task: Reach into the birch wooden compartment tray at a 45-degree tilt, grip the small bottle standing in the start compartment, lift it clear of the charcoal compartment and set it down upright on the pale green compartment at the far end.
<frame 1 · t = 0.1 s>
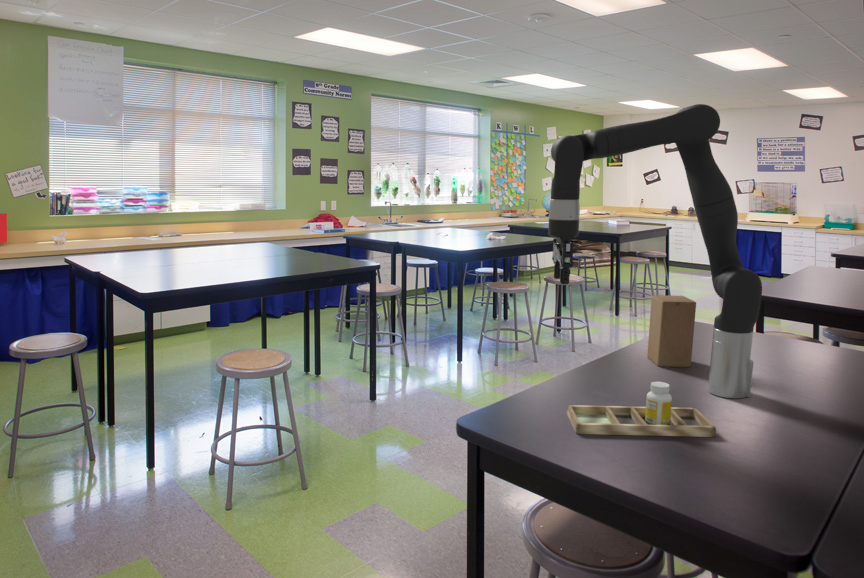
hand: (561, 281, 158), 29 cm above the table, tool pointing down, fingers open, 8 cm apart
wooden block: (668, 363, 188), on the table
wooden compartment tray: (637, 424, 140), on the table
supplement bottle: (657, 426, 140), resting in wooden compartment tray
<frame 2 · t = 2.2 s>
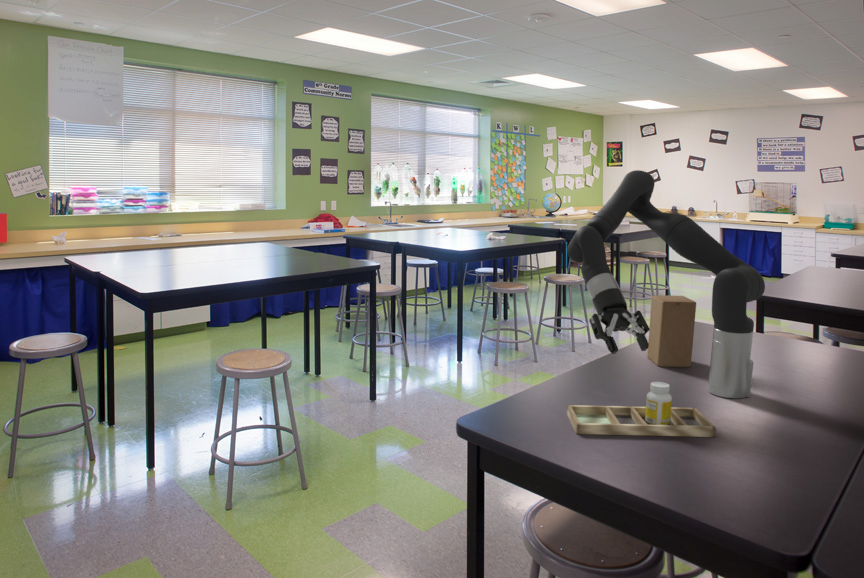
hand: (630, 351, 148), 14 cm above the table, tool tilted 45°, fingers open, 8 cm apart
nothing on the table moved.
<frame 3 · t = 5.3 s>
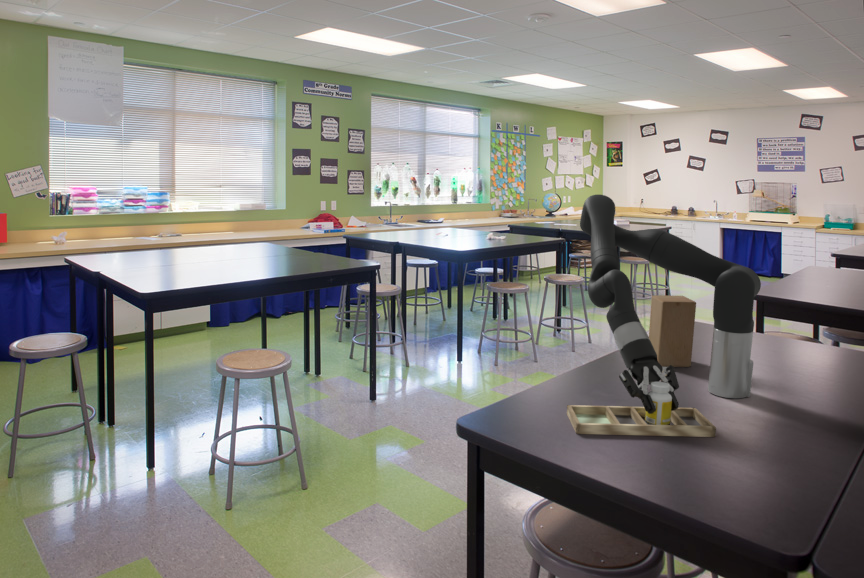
hand: (663, 410, 137), 4 cm above the table, tool tilted 45°, fingers closed on supplement bottle, 5 cm apart
supplement bottle: (657, 426, 140), resting in wooden compartment tray, touching gripper
everything else where it was.
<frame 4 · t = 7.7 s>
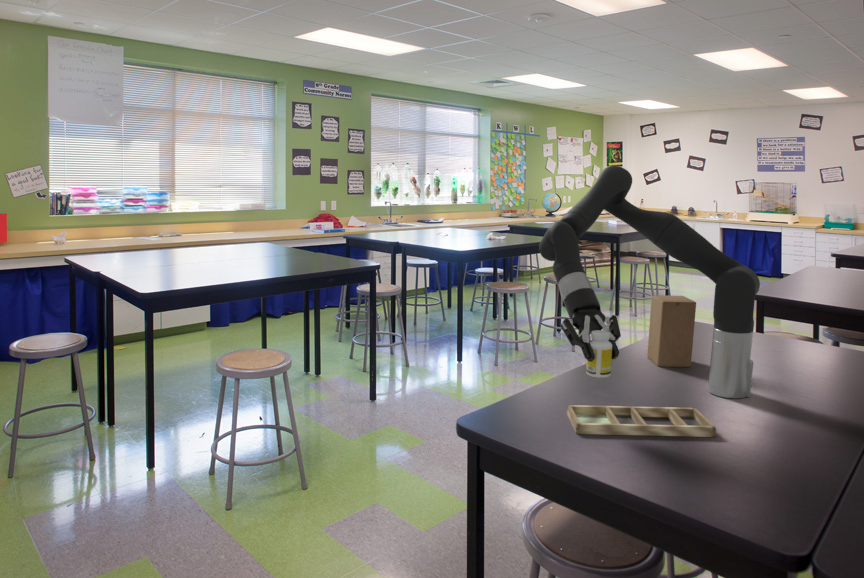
hand: (603, 358, 136), 16 cm above the table, tool tilted 45°, fingers closed on supplement bottle, 5 cm apart
supplement bottle: (598, 375, 139), point 11 cm above the table, touching gripper
everything else where it was.
when the fingers open (6 cm above the table, at t = 10.3 s): supplement bottle stays where it is, resting on wooden compartment tray.
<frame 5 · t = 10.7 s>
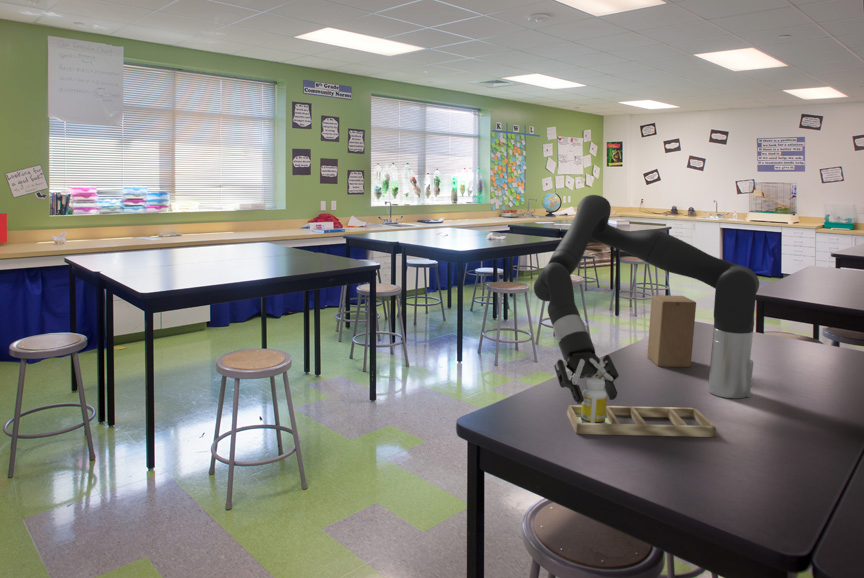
hand: (597, 400, 138), 6 cm above the table, tool tilted 45°, fingers open, 8 cm apart
supplement bottle: (592, 423, 140), resting on wooden compartment tray
everything else where it was.
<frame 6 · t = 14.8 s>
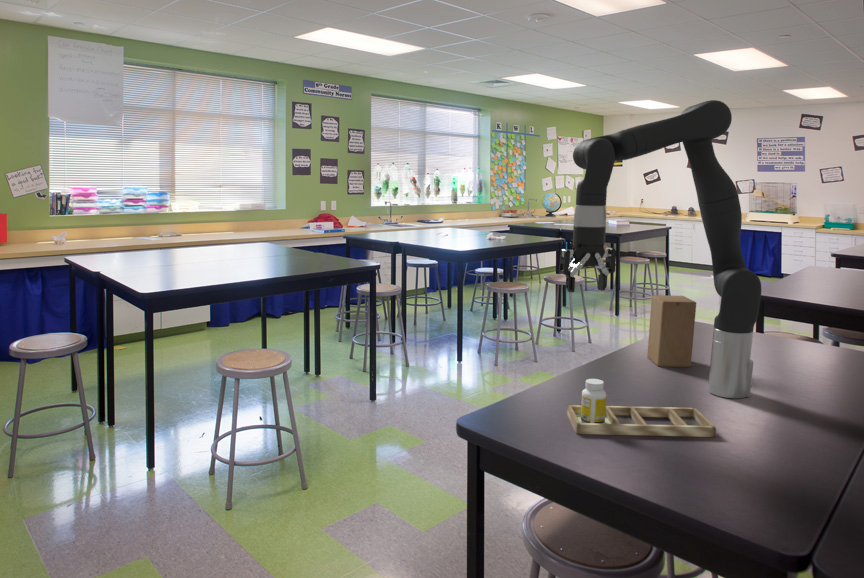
hand: (586, 291, 150), 28 cm above the table, tool pointing down, fingers open, 8 cm apart
nothing on the table moved.
at the end: supplement bottle inside the target area (0.5 cm from its centre), resting on wooden compartment tray; supplement bottle tilted 0°; the gripper is holding nothing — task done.
